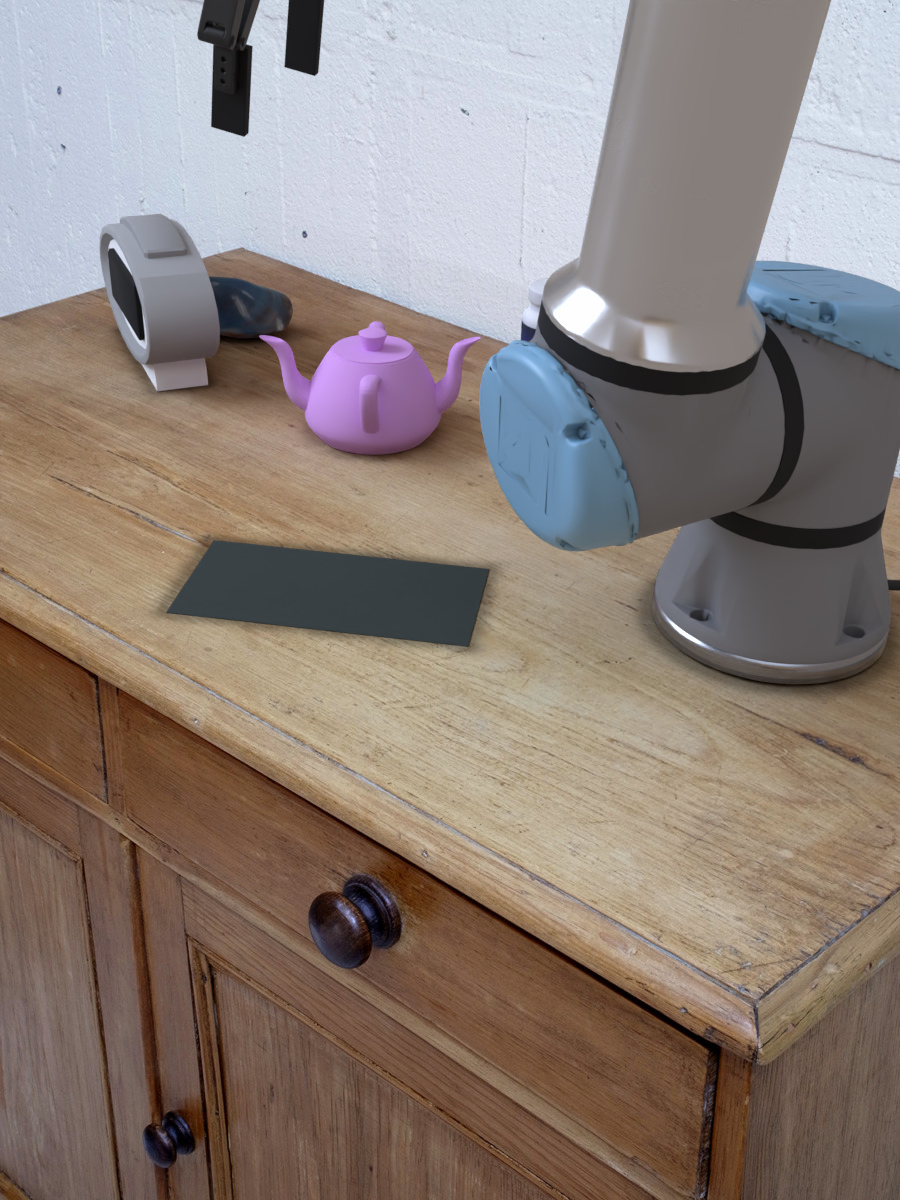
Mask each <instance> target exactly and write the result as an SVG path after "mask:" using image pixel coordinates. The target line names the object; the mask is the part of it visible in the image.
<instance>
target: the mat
mask: <svg viewBox="0 0 900 1200" xmlns="http://www.w3.org/2000/svg"><path fill="white" fill-rule="evenodd" d="M489 573H490V568H484V567H474V566H466V565H465V566H464V565H456V564H455V565H454V564H446V563H437V562H428V561H427V562H426V561H418V560H408V559H401V558H400V559H398V558H389V557H380V556H372V555H371V556H369V555H361V554H352V553H351V554H350V553H340V552H332V551H323V550H315V549H314V550H312V549H305V548H295V547H283V546H274V545H265V544H257V543H256V544H254V543H246V542H237V541H236V542H235V541H227V540H217V539H213V540H212V541H211V543H210V545H209V547H208V548H207V549H206V550H205V553H204V554H203V556H202V557H201V559H200V560H199V562H198V563H197V565H196V566H195V568H194V569H193V571H192V572H191V574H190V575H189V577H188V579H187V580H186V581H185V583H184V584H183V586H182V587H181V589H180V590H179V592H178V594H177V595H176V597H175V598H174V599H173V601H172V603H171V604H170V606H169V607H168V609H167V611H166V612H165V613H166V614H172V615H173V614H174V615H179V616H180V615H182V616H191V617H198V618H208V619H216V620H226V621H234V622H243V623H250V624H262V625H270V626H278V627H279V626H280V627H288V628H296V629H297V628H298V629H305V630H314V631H321V632H332V633H341V634H350V635H358V636H368V637H376V638H385V639H393V640H403V641H412V642H419V643H428V644H429V643H431V644H439V645H448V646H456V647H457V646H458V647H466V648H469V645H470V642H471V637H472V634H473V630H474V627H475V624H476V619H477V616H478V613H479V608H480V605H481V602H482V597H483V594H484V590H485V586H486V582H487V580H488V576H489Z"/></svg>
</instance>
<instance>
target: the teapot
mask: <svg viewBox="0 0 900 1200" xmlns="http://www.w3.org/2000/svg"><path fill="white" fill-rule="evenodd" d="M259 338H260V339H261V340H262V341H264V342H265V343H266V344H268V345H269V346H271V348H272V349H273V351H274V352H275V353H276V355H277V357H278V360H279V361H278V362H279V364H280V369H281V376H282V382H283V387H284V390H285V392H286V395H287V396H288V398H289V400H290V401H291V402H292V403H293V404H294V405H295V406H296V407H297V408H299V409H301V410H302V411H304V419H305V421H306V424H307V425H308V427H309V429H310V430H311V431H312V432H313V433H314V434H315V435H316V436H317V437H318V439H320V440H321V441H322V442H323V443H325V444H326V445H327V446H329V447H331V448H333V449H336V450H338V451H342V452H346V453H351V454H357V455H371V456H372V455H374V456H375V455H391V454H397V453H402V452H405V451H408V450H411V449H413V448H415V447H416V448H417V446H419V445H421V444H423V442H425V441H426V439H428V438H429V437H430V436H431V435H432V433H433V432H434V431H436V429H437V428H438V426H439V424H440V421H441V418H442V414H443V413H444V412H446V411H448V410H449V409H450V408H452V406H453V405H454V403H455V402H456V401H457V398H458V397H459V394H460V391H461V385H462V377H463V376H462V373H463V364H464V359H465V356H466V354H467V352H468V351H469V349H470V348H471V347H472V346H473V345H475V344H476V343H477V342H478V341H480V340H481V336H472V337H467V338H464V339H460V340H458V341H457V342H456V343H454V344H453V345H452V347H451V349H450V351H449V354H448V357H447V366H446V367H447V368H446V372H445V374H444V376H443V377H442V378H441V379H440V380H439V381H437V382H435V379H434V377H433V375H432V373H431V371H430V369H429V367H428V366H427V365H426V363H425V361H424V360H423V358H422V356H421V355H420V353H419V352H418V351H417V349H416V347H414V346H413V345H412V344H411V343H410V342H409V341H407V340H406V339H404V338H401V337H397V336H393V335H388V332H387V331H386V326H385V324H384V323H383V322H381V321H378V320H376V321H372V322H370V324H369V325H368V326H367V328H366V327H365V328H363V329H361V330H359V331H358V334H357V335H351V336H348V337H343V338H341V339H339V340H338V341H336V342H335V343H334V344H332V346H331V347H330V348H329V350H328V351H327V353H326V354H325V356H324V357H323V358H322V360H321V361H320V364H319V365H318V367H317V368H316V370H315V371H314V374H313V376H312V378H311V380H309V379H308V378H306V377H305V376H302V374H301V373H300V372H299V370H298V368H297V365H296V360H295V355H294V352H293V350H292V347H291V346H290V344H289V343H288V342H287V341H285V340H284V339H282V338H280V337H277V336H272V335H269V336H267V335H260V336H259Z"/></svg>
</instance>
